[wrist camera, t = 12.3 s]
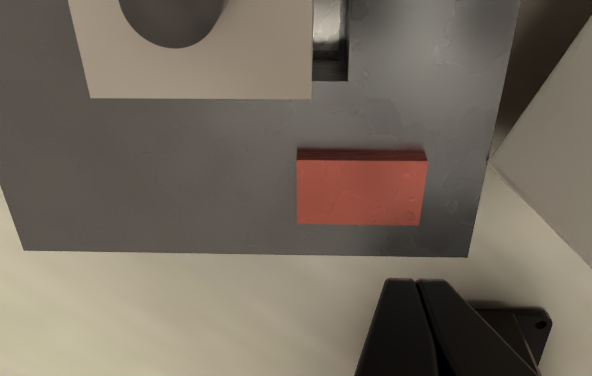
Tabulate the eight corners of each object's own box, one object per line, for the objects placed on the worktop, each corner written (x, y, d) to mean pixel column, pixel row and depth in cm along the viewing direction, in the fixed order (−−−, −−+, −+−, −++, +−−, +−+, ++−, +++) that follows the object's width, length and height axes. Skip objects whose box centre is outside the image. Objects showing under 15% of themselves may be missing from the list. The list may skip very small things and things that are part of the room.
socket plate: (449, 209, 21) (471, 268, 18) (58, 204, 22) (16, 261, 19) (545, -338, 13) (617, -400, 10) (-99, -323, 13) (-224, -378, 10)
